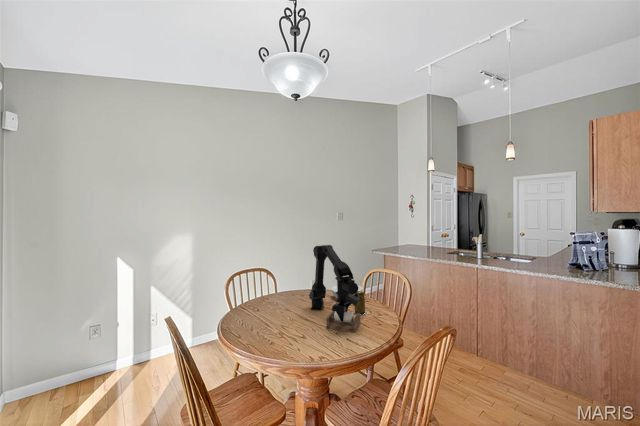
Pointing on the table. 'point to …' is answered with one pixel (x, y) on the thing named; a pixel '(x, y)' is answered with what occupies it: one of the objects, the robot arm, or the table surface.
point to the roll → (345, 317)
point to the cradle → (343, 323)
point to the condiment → (360, 304)
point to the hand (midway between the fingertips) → (343, 319)
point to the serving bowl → (334, 290)
